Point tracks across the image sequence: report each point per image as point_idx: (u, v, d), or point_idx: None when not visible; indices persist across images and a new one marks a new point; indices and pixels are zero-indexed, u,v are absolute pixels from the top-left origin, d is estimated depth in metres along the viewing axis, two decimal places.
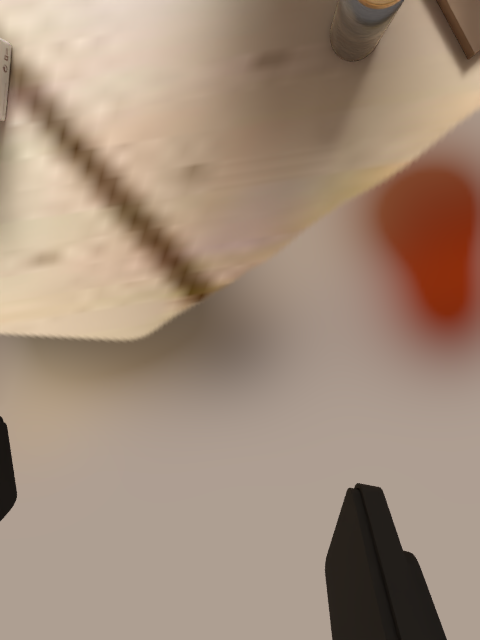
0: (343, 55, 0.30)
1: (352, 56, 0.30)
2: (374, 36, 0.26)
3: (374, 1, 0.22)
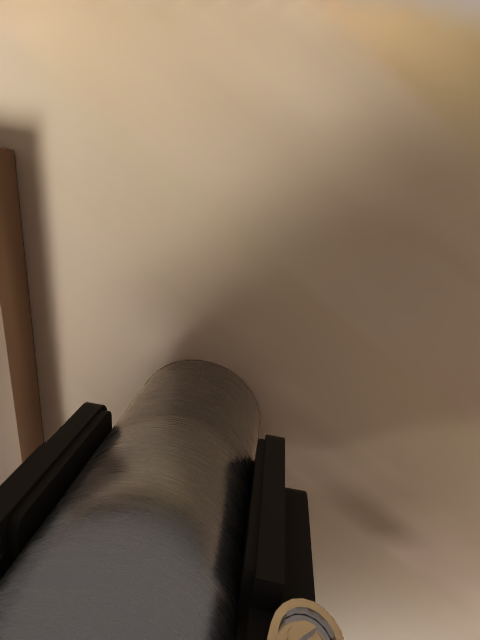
0: (255, 414, 0.11)
1: (243, 403, 0.11)
2: (187, 470, 0.07)
3: None
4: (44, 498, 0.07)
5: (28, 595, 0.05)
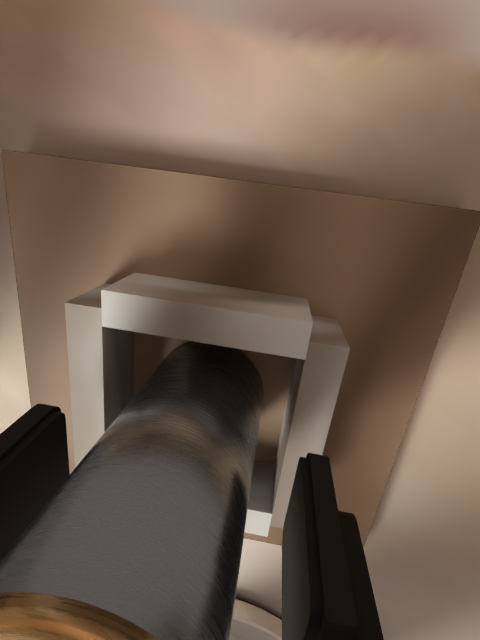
0: (259, 387, 0.13)
1: (249, 375, 0.12)
2: (203, 415, 0.09)
3: None
4: None
5: (87, 485, 0.06)
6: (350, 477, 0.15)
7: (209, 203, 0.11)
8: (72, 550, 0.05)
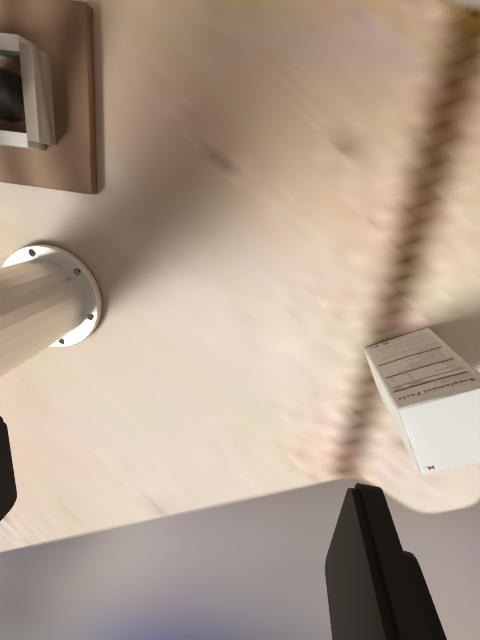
0: None
1: (16, 76, 0.32)
2: None
3: None
4: None
5: None
6: (75, 141, 0.34)
7: None
8: None
